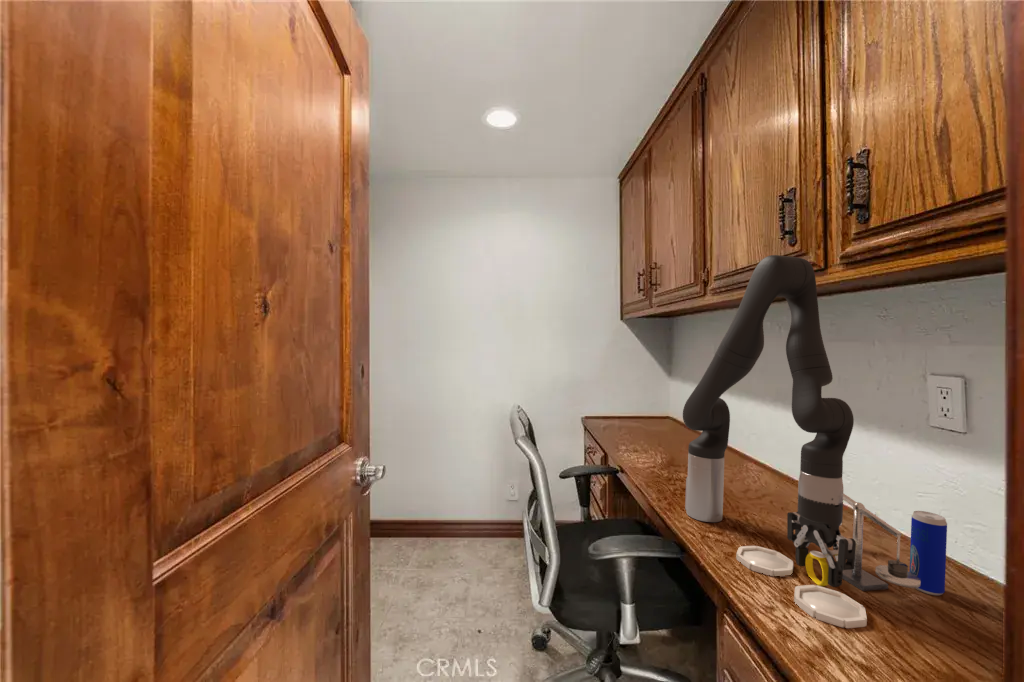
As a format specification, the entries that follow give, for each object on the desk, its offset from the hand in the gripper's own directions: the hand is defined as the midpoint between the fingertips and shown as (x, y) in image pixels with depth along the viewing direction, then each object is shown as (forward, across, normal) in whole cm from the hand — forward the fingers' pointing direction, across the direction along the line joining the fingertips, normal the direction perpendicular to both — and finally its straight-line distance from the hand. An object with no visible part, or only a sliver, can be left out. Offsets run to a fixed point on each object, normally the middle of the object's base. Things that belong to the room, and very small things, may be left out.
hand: (817, 575), depth 88 cm
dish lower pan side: (+1, +8, -6) cm, 10 cm away
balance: (+1, 0, +10) cm, 10 cm away
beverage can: (+2, +5, +20) cm, 21 cm away
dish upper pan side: (+1, -8, -6) cm, 10 cm away
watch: (+2, 0, 0) cm, 2 cm away
